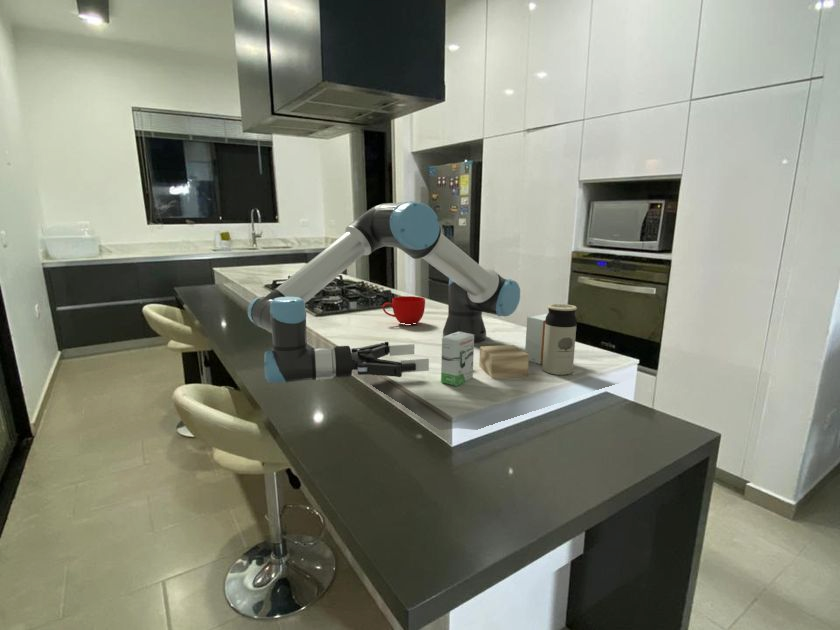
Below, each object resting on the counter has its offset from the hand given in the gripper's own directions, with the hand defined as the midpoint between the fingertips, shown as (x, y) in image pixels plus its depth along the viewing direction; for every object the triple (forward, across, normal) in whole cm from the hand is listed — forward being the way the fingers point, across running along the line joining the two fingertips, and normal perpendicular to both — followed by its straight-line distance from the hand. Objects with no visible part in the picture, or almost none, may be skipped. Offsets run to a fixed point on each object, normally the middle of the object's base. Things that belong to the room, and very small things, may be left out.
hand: (420, 356), depth 111 cm
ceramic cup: (+11, -65, -7) cm, 66 cm away
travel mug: (+39, 0, -7) cm, 39 cm away
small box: (+40, -10, -7) cm, 42 cm away
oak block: (+24, -4, -7) cm, 25 cm away
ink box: (+10, 0, -7) cm, 12 cm away
